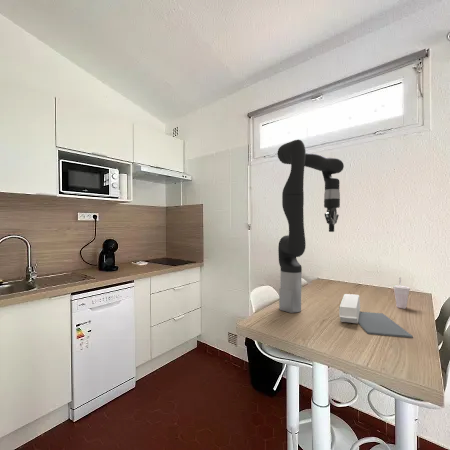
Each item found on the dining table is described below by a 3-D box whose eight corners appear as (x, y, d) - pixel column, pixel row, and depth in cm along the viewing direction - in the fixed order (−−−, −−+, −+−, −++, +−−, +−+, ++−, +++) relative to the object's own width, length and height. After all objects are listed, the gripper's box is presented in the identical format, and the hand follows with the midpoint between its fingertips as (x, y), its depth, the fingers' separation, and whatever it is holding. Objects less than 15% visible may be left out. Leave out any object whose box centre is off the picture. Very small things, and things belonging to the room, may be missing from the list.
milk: (360, 307, 107) (357, 327, 89) (345, 306, 111) (339, 325, 92) (359, 294, 107) (356, 310, 89) (344, 293, 111) (338, 309, 92)
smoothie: (393, 304, 117) (393, 275, 118) (410, 307, 113) (410, 277, 114) (392, 307, 113) (392, 277, 113) (409, 310, 108) (409, 279, 109)
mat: (412, 337, 81) (412, 336, 81) (367, 333, 84) (367, 332, 84) (382, 314, 103) (382, 313, 103) (347, 312, 105) (347, 310, 105)
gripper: (334, 196, 118) (333, 232, 118) (344, 199, 127) (343, 231, 127) (319, 198, 123) (318, 231, 123) (329, 200, 132) (329, 231, 132)
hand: (331, 231), depth 125 cm, fingers closed
